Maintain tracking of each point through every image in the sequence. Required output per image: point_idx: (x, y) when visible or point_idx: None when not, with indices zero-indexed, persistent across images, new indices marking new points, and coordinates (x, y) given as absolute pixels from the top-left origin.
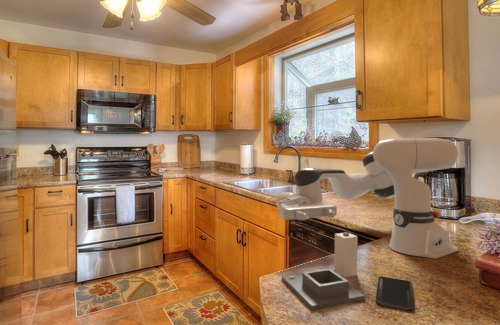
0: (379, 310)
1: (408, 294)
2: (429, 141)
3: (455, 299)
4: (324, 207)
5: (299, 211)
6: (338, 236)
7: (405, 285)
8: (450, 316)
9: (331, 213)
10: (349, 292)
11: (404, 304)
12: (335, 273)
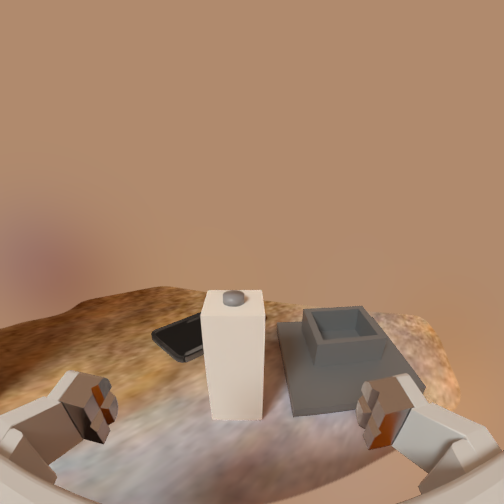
0: (273, 312)
1: (198, 317)
2: None
3: (147, 305)
4: (6, 459)
5: (461, 445)
6: (263, 307)
7: (172, 330)
8: (197, 294)
9: (99, 379)
10: (297, 331)
11: None
12: (314, 328)
